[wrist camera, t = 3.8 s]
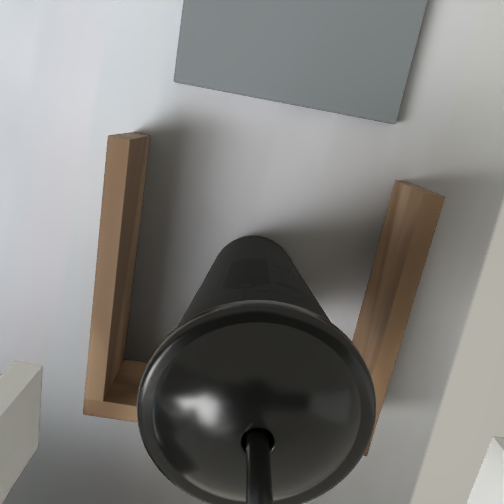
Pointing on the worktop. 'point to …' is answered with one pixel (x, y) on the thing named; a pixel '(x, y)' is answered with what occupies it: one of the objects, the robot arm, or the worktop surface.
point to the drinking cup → (256, 388)
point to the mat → (303, 51)
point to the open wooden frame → (123, 266)
